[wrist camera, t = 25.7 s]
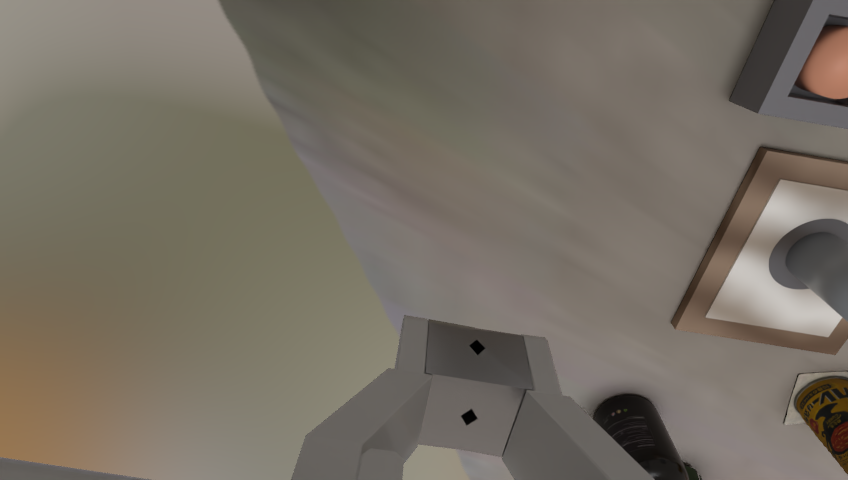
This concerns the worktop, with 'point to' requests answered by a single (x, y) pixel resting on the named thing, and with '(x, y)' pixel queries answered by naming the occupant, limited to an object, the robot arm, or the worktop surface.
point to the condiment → (823, 410)
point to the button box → (790, 64)
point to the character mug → (692, 473)
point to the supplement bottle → (642, 435)
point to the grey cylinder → (822, 268)
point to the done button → (827, 64)
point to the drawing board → (771, 257)
